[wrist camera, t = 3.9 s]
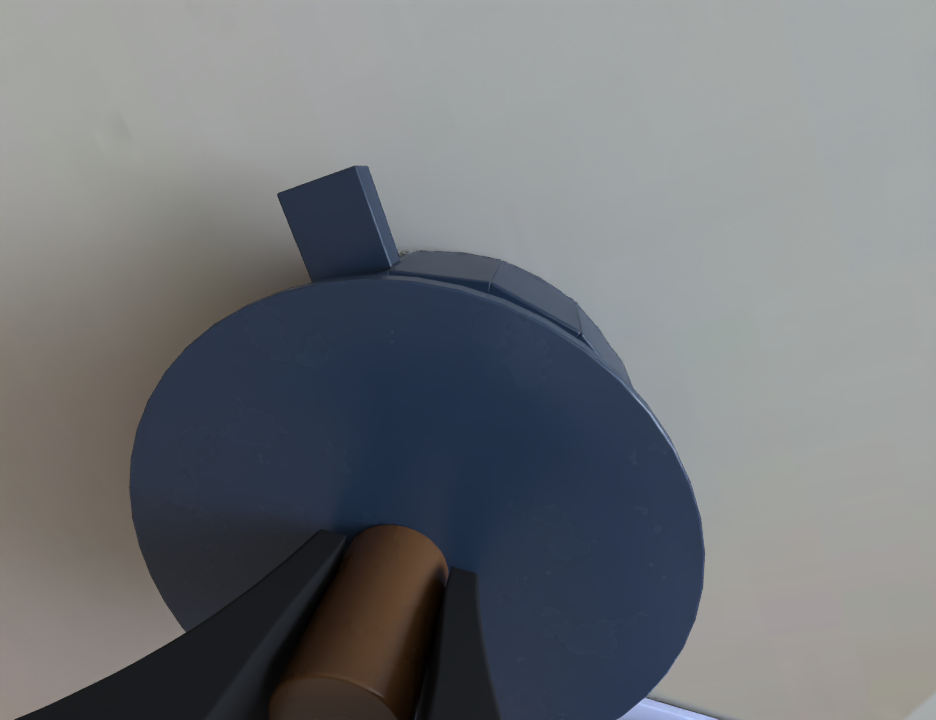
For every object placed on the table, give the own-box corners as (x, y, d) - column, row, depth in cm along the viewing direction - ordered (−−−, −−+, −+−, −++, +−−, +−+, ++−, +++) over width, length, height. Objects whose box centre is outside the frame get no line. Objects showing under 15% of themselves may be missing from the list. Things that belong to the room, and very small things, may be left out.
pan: (563, 105, 15) (569, 83, 11) (677, 602, 20) (706, 698, 17) (187, 237, 18) (93, 255, 14) (374, 638, 24) (341, 726, 20)
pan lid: (625, 181, 10) (697, 192, 5) (732, 708, 14) (826, 977, 9) (63, 355, 13) (-203, 457, 9) (284, 740, 18) (187, 951, 13)
